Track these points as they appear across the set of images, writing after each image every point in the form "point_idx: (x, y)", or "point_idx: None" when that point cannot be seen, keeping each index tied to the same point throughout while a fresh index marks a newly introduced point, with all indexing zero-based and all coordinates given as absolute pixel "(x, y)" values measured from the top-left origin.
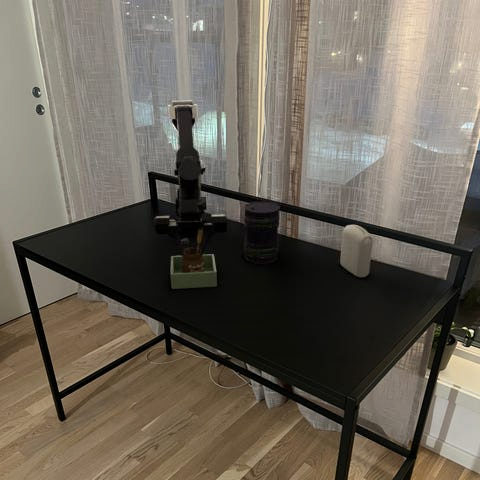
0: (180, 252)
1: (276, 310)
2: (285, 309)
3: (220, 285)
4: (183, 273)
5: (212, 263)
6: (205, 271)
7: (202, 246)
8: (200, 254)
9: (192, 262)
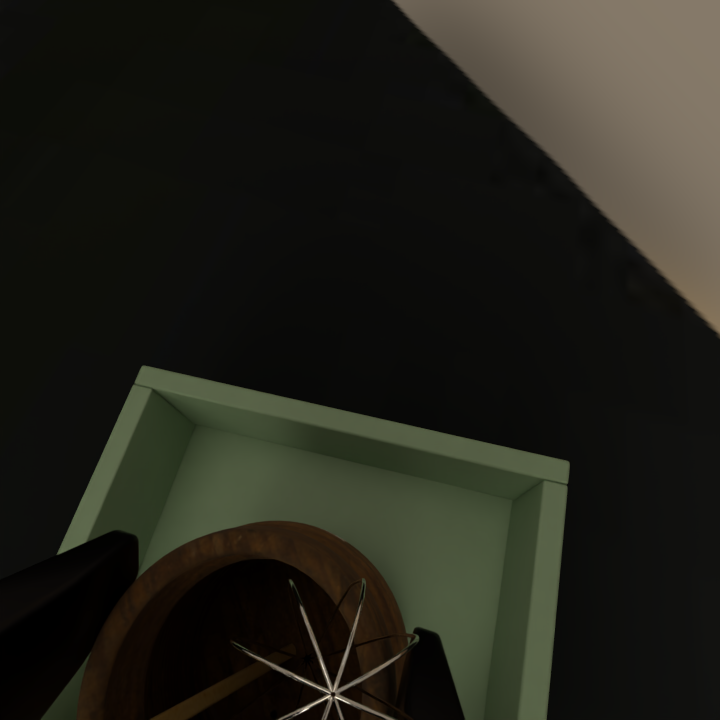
0: (437, 652)
1: (50, 85)
2: (9, 82)
3: None
4: (437, 438)
5: None
6: None
7: (40, 593)
8: (154, 564)
9: (303, 529)
